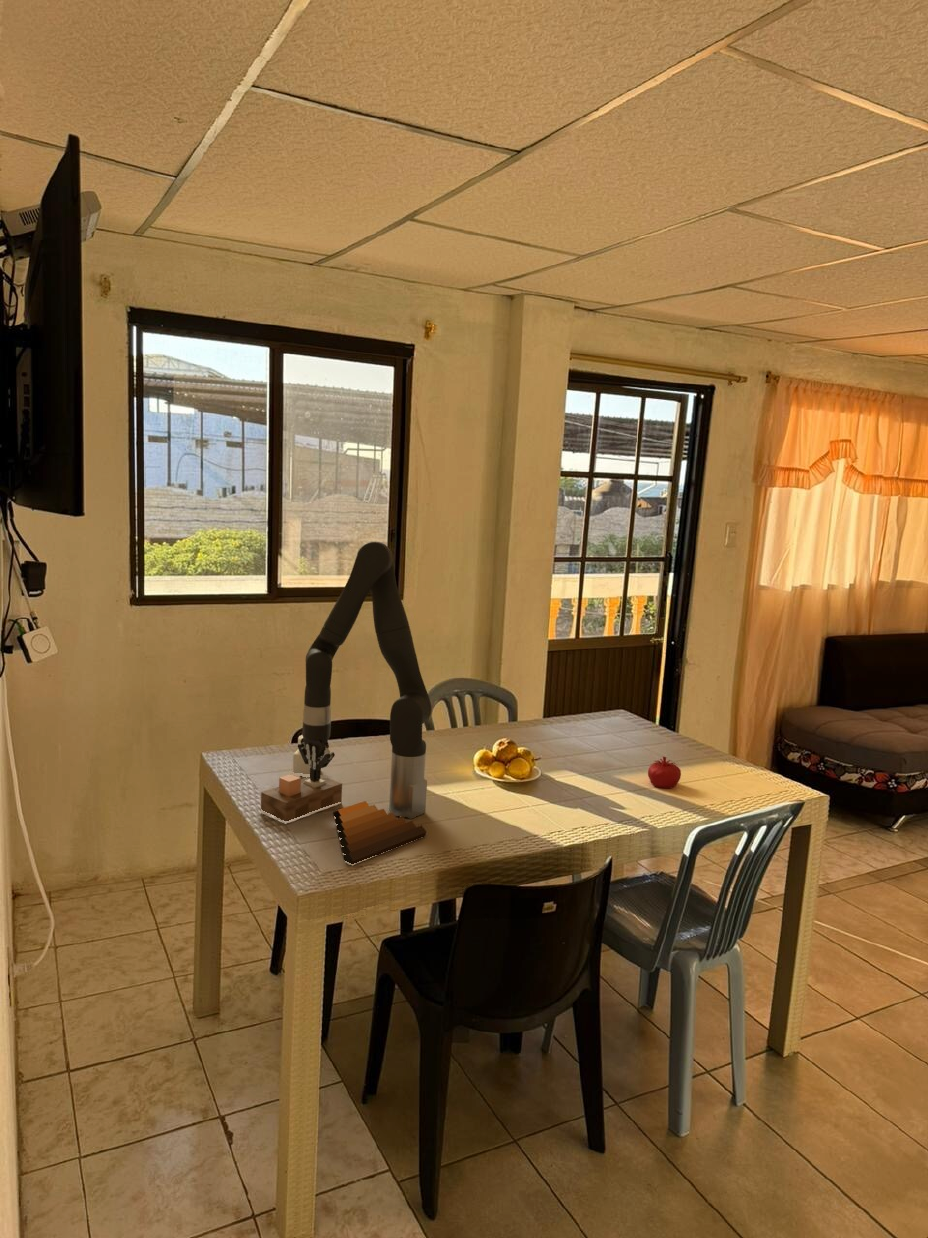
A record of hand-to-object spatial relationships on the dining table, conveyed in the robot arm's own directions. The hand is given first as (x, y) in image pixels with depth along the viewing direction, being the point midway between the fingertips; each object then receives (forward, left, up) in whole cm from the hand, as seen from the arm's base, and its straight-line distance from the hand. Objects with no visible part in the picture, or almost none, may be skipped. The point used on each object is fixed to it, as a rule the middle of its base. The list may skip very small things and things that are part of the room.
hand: (314, 780), depth 238 cm
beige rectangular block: (0, 0, -6) cm, 6 cm away
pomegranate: (-63, -88, -7) cm, 109 cm away
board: (0, +5, -7) cm, 8 cm away
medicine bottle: (+19, -14, -7) cm, 25 cm away
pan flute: (-23, +6, -8) cm, 25 cm away
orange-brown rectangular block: (0, +9, -2) cm, 9 cm away
